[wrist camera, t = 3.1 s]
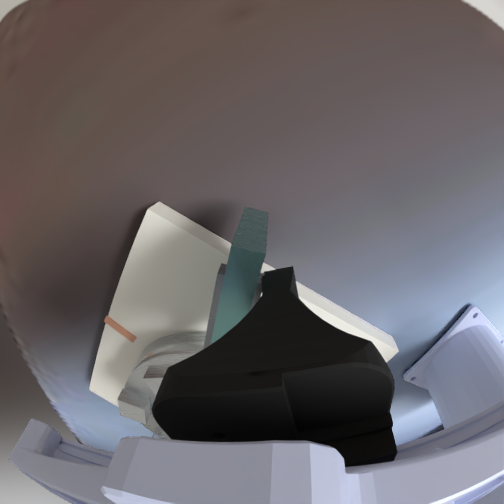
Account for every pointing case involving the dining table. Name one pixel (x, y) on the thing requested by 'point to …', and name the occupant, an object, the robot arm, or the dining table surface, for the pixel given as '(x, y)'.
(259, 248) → the teal elongated tool
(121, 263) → the dining table surface
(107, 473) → the robot arm
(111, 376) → the base plate
